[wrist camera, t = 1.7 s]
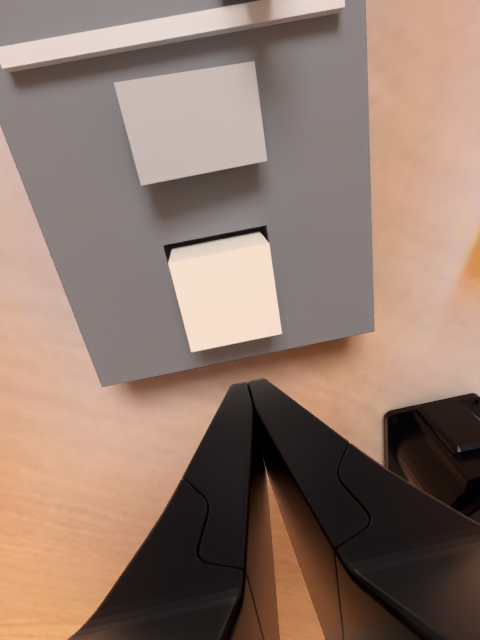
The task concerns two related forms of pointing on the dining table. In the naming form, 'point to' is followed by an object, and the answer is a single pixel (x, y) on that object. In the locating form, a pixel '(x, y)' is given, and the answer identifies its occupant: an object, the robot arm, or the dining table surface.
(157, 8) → the console
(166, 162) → the pale grey slab
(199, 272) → the push button
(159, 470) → the dining table surface
